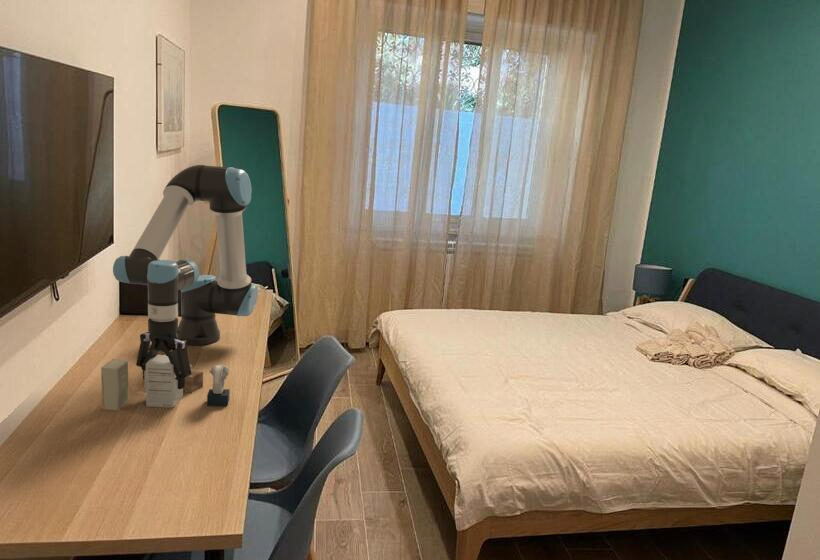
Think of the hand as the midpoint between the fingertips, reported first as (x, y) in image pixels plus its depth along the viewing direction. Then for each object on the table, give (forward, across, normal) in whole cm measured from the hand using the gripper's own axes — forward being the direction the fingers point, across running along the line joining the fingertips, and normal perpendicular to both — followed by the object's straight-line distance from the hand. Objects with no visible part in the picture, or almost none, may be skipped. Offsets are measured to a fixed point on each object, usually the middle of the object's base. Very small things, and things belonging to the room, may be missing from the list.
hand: (163, 395), depth 165 cm
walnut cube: (+2, 0, +11) cm, 11 cm away
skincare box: (+2, -9, -8) cm, 12 cm away
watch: (+2, +13, +7) cm, 15 cm away
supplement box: (+2, 0, 0) cm, 2 cm away
